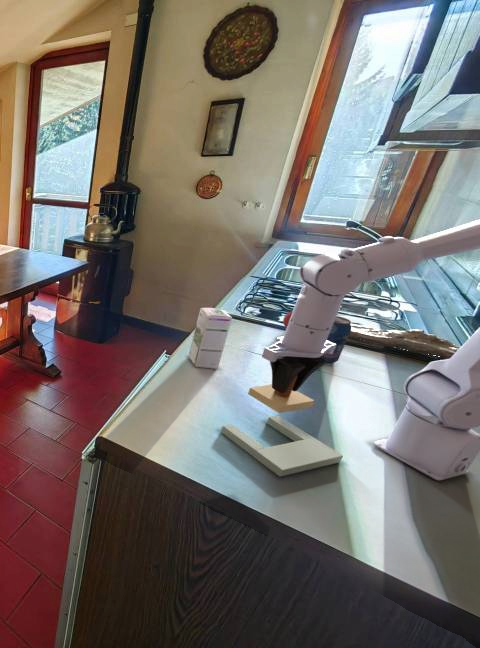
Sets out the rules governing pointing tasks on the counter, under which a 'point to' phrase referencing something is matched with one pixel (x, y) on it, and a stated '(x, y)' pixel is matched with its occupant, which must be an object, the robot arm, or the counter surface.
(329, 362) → the soda can
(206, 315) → the syrup box
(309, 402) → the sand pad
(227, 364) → the counter surface
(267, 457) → the notched mat
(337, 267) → the robot arm
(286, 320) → the red round piece
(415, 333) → the driftwood log
